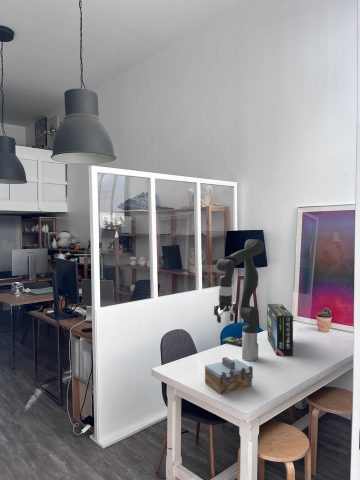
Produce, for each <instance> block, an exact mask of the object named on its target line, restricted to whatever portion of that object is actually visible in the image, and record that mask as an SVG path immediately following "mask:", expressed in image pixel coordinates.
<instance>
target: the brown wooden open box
mask: <svg viewBox="0 0 360 480" xmlns="http://www.w3.org/2000/svg"><path fill="white" fill-rule="evenodd" d="M248 366H249V370H250V373H246V369H245V368H242V373H240V374H236V375H234V371H232V370H230V374H231V377H228V378H226V373H225V372H222V378H219V377H217V376H216V375H214V374H213V373H211V372H210V371H208V370H207V369H205V368H204V384H205V385H207V386H208V387H210V389H212V390H213V391H214V392H216V393H217V394H219V395H221V394H222V395H223V394H226V393H230V392H234V391H238V390H242V389H246V388H249V387H252V386H253V379H254V376H253V373H254V372H253V371H254V370H253V369H254V367H253V366H251V365H248ZM245 373H246V374H245Z"/></svg>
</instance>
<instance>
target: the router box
mask: <svg viewBox="0 0 360 480" xmlns="http://www.w3.org/2000/svg"><path fill="white" fill-rule="evenodd" d="M266 313H267V340H268V343H269V345H270V346H271V348H272V349H273V352H274V353H275V355H276V356H280V357H281V356H282V357H289V356H290V357H291V356H292V357H293V356H294V315H293V314H292V313H291V312H290V311H289V310H288V309H287V308H286V307H285V306H284V305H283V304H281V303H267V308H266Z"/></svg>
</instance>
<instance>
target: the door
mask: <svg viewBox="0 0 360 480" xmlns="http://www.w3.org/2000/svg"><path fill="white" fill-rule="evenodd" d="M249 366H250V365H248V364H246V363H244V362H242V361H240V360H238V359H236V358H234V359H230V358H228V357H226V356H225V357H222V360H221V361H220V362H214V363H211V364H210V363H209V364H205V365H204V367H205V368H204V370H205V369H207V370H208V371H210V372H211V373H213V374H214V375H216V376H217V377H219V378H222V372H225V373H226V378H228V377H231V374H230V370H232V371H234V375H236V374H240V373H242V368H245V369H246V373H250V370H249ZM246 373H245V374H246Z"/></svg>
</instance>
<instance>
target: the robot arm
mask: <svg viewBox="0 0 360 480" xmlns="http://www.w3.org/2000/svg"><path fill="white" fill-rule="evenodd" d="M264 250H265V244H264V242H263V241H262V240H261V239H253V238H252V239H251V238H249V239H247V240H246V241H245V243H244V249H240V250H237V251H236V252H234V253H231V254H230V255H228V256H225V257H222V258H220V259H219V260H218V261H216V269H217V270H218V271H219V272H225V274H224V275H221V276H220V277H219V280H218V281H219V282H218V283H219V288H218V302H219V303H218V304H214V307H213V315H214V316H216V323H219V324H221V323H222V320H221V319H222V314H223V313H226V312H229V321H230V322H234V320H235V319H234V318H235V317H234V316H235V314H237V310H238V309H237V303H235V302H233V286H232V285H233V282H232V280H233V276H234V273H235V269H236V266H238V265H240V264H241V263H242V262H244V270H243V280H242V281H243V282H242V292H241V300H240V301H241V302H240V307H239V317H240V319H242V320H244V321H248V324H247V325H243V326H242V327H241V328H242V331H241V335H242V337H241V339H242V346H241V359H242V360H244V361H248V362H254V361H257V360H258V359H259V343H258V327H259V318H260V312H259V308H258V307H256V306H253V305H250V301H251V299H252V296H253V295H254V292H255V291H256V290H257V288H258V285H259V273H258V270H257V268H256V266H255V264H254V259H253V258H254V257H255V256H257V255H260V254H263V251H264Z"/></svg>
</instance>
